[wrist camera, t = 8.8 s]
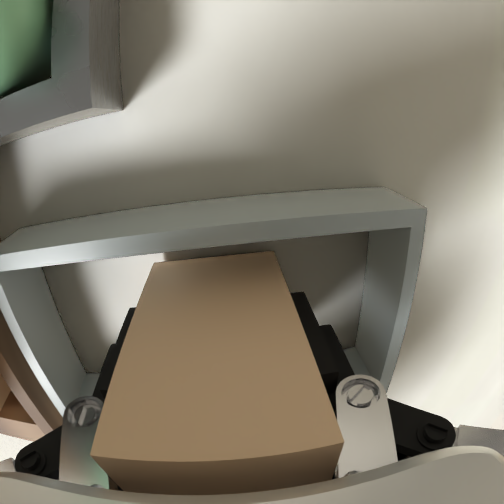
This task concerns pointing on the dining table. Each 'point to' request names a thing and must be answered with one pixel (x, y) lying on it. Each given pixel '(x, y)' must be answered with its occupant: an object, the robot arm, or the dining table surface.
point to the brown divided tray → (23, 394)
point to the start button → (24, 43)
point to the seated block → (3, 391)
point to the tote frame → (213, 235)
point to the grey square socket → (71, 72)
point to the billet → (216, 386)
